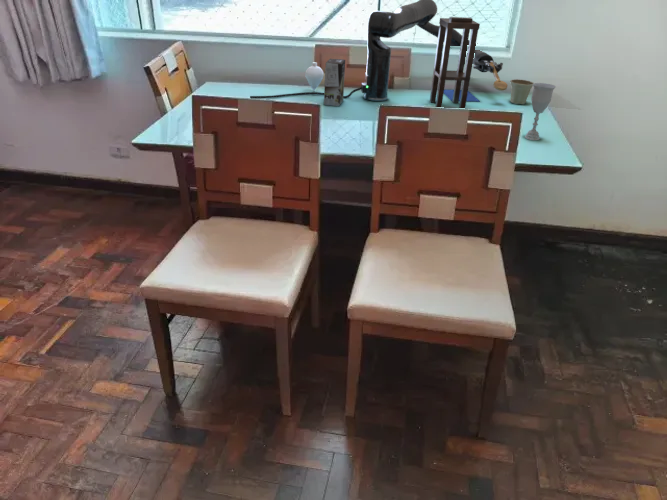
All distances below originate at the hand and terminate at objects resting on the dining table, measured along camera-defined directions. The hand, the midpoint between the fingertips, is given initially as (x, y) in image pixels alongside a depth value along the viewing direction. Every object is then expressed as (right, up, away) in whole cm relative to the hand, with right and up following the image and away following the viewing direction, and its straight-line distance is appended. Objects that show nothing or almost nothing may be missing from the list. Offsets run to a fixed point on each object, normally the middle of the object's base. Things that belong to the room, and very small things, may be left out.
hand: (495, 70), depth 232 cm
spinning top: (-76, -9, +2) cm, 76 cm away
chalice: (+2, -36, -38) cm, 53 cm away
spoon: (0, -4, +1) cm, 4 cm away
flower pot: (+10, -13, +3) cm, 17 cm away
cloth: (-13, -8, +8) cm, 17 cm away
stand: (-21, -16, -7) cm, 28 cm away
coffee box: (-67, -17, -11) cm, 70 cm away
